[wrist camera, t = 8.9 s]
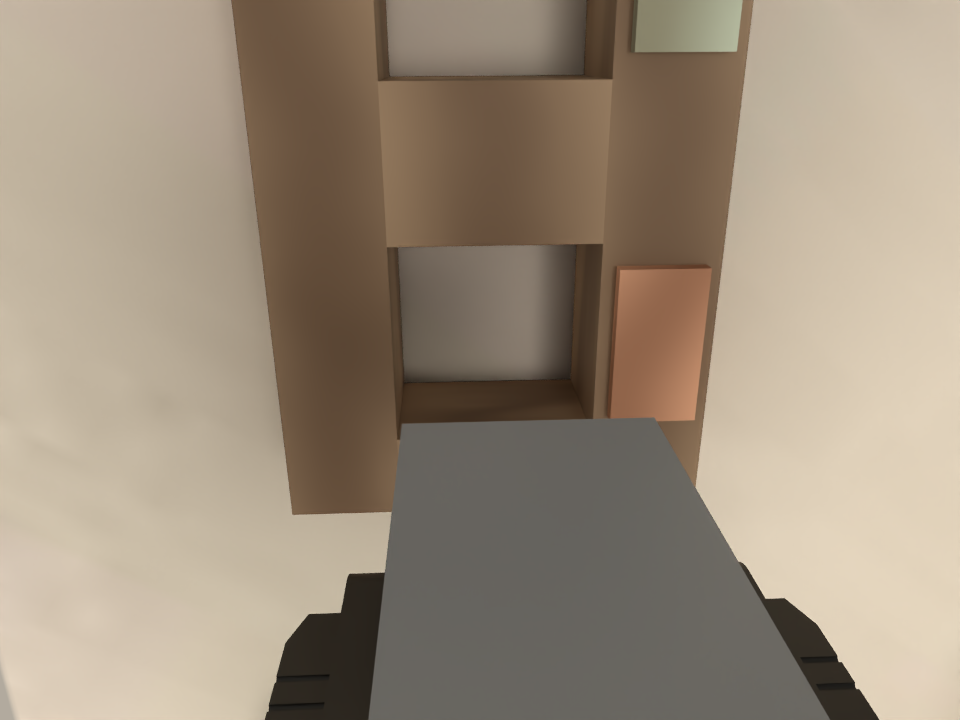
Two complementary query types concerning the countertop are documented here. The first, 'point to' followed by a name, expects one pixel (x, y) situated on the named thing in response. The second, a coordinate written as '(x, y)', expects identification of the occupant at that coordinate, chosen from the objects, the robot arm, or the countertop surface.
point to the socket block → (486, 220)
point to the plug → (567, 584)
